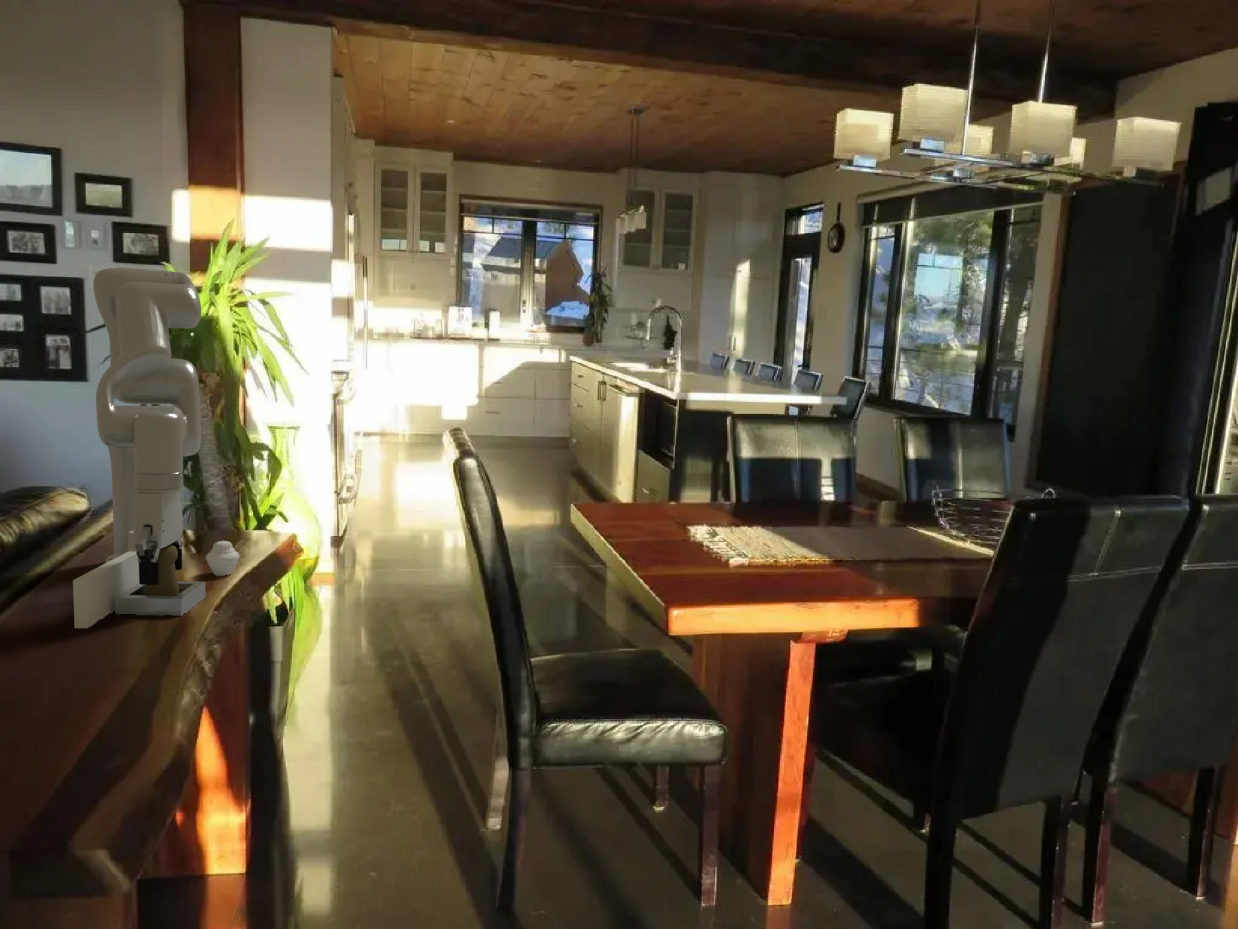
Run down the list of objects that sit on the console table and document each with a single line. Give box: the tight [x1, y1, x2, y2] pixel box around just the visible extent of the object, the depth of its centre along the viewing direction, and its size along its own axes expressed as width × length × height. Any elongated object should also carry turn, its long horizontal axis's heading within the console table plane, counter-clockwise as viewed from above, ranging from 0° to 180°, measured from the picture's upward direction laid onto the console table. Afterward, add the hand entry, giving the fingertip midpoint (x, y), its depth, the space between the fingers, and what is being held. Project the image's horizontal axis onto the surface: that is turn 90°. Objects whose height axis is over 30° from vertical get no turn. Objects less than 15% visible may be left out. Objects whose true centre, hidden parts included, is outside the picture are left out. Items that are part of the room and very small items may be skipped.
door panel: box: [72, 531, 139, 629], centre depth 159 cm, size 25×4×11 cm, turn 5°
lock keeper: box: [114, 580, 206, 617], centre depth 161 cm, size 11×11×3 cm
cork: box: [145, 544, 180, 596], centre depth 161 cm, size 6×6×11 cm
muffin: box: [205, 540, 240, 577], centre depth 183 cm, size 6×6×7 cm
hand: (161, 576), depth 160 cm, fingers open, 9 cm apart
